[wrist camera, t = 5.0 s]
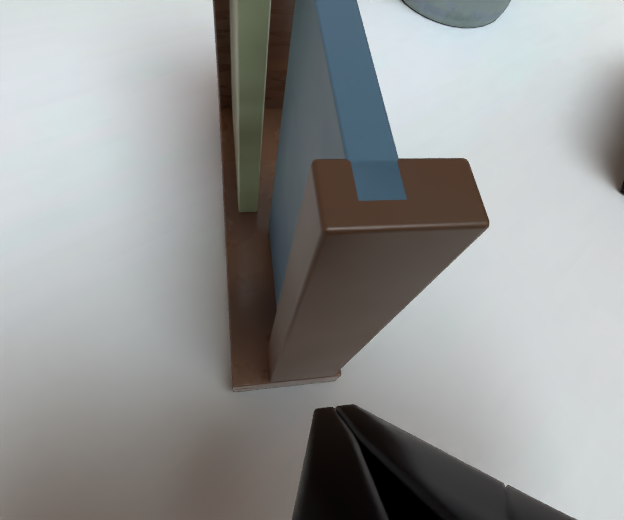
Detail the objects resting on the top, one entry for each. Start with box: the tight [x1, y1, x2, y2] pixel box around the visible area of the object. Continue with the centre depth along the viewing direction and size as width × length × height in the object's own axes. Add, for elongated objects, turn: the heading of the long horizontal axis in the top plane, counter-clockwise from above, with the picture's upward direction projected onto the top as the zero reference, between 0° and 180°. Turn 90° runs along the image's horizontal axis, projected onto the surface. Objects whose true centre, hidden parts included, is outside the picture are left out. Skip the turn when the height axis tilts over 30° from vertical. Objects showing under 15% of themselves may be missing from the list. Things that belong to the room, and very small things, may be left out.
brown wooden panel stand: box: [213, 0, 341, 392], centre depth 13 cm, size 14×4×13 cm, turn 8°
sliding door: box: [267, 0, 489, 382], centre depth 12 cm, size 6×2×11 cm, turn 8°
